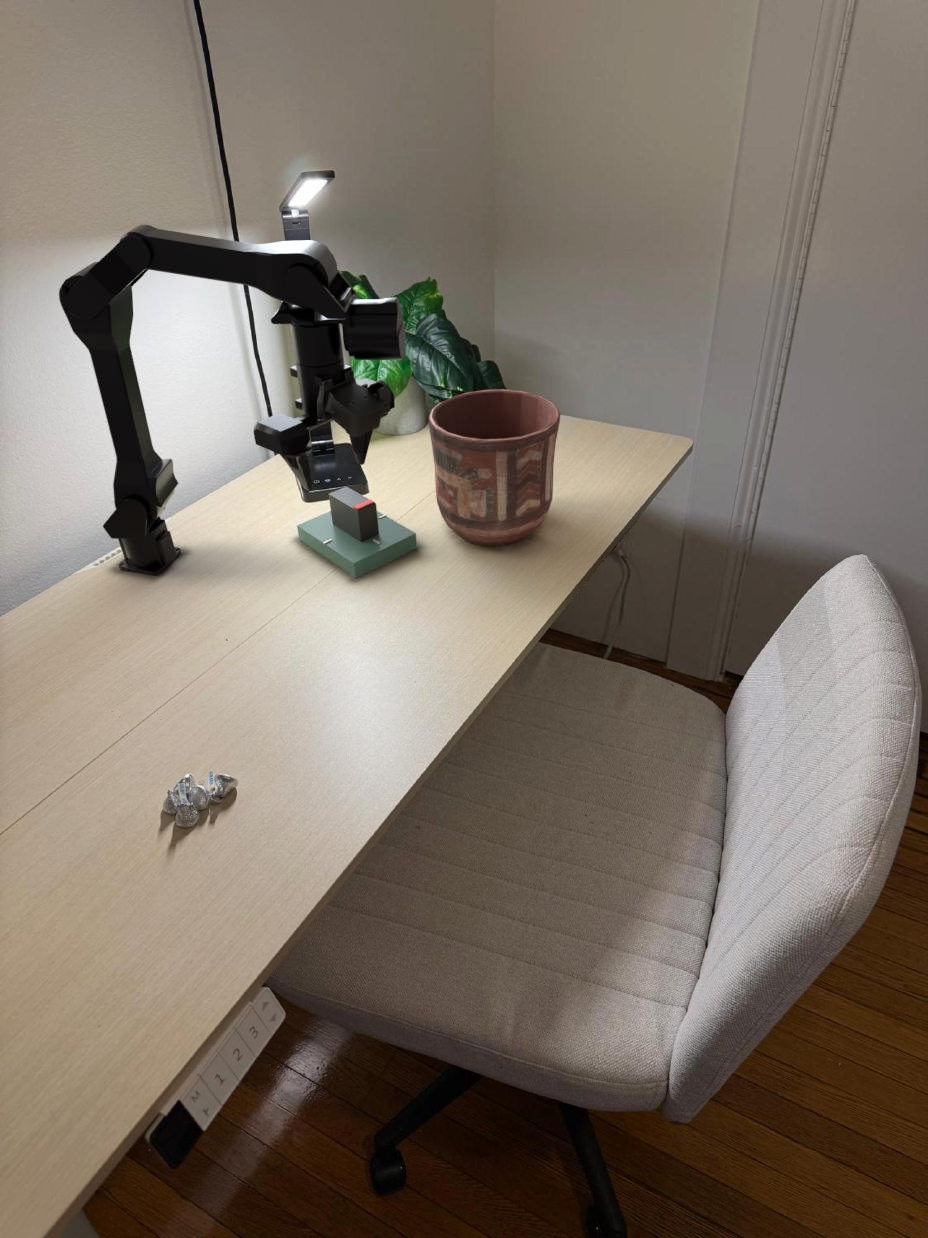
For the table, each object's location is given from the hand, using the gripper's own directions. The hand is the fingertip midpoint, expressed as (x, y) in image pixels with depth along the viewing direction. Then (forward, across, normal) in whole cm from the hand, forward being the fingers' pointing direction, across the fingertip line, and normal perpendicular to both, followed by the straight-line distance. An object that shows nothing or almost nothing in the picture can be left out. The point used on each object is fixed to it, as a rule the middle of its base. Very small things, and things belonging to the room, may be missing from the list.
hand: (335, 476), depth 107 cm
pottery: (+14, +21, -10) cm, 27 cm away
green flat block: (+14, +5, +3) cm, 15 cm away
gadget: (+11, +5, +3) cm, 12 cm away
